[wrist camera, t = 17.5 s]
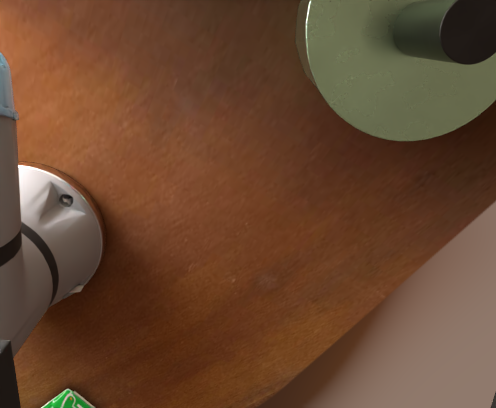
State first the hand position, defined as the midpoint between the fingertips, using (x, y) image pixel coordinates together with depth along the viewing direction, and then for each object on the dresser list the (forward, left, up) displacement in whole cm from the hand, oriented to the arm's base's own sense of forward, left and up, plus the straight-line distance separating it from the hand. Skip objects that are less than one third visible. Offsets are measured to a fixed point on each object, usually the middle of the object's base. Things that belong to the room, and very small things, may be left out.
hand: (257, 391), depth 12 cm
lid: (+11, +10, -24) cm, 28 cm away
